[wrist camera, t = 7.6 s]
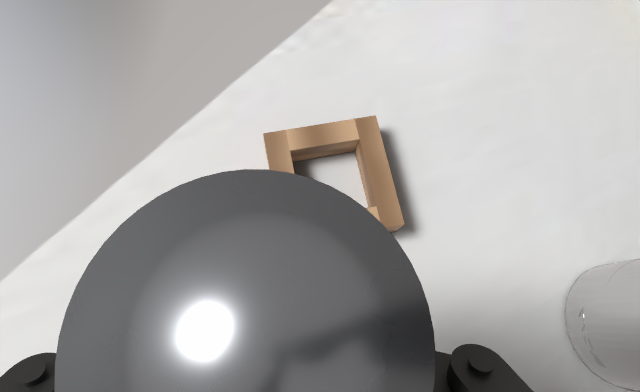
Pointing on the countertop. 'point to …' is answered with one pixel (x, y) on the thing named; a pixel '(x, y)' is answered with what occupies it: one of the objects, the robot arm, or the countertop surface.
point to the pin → (248, 296)
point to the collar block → (337, 140)
